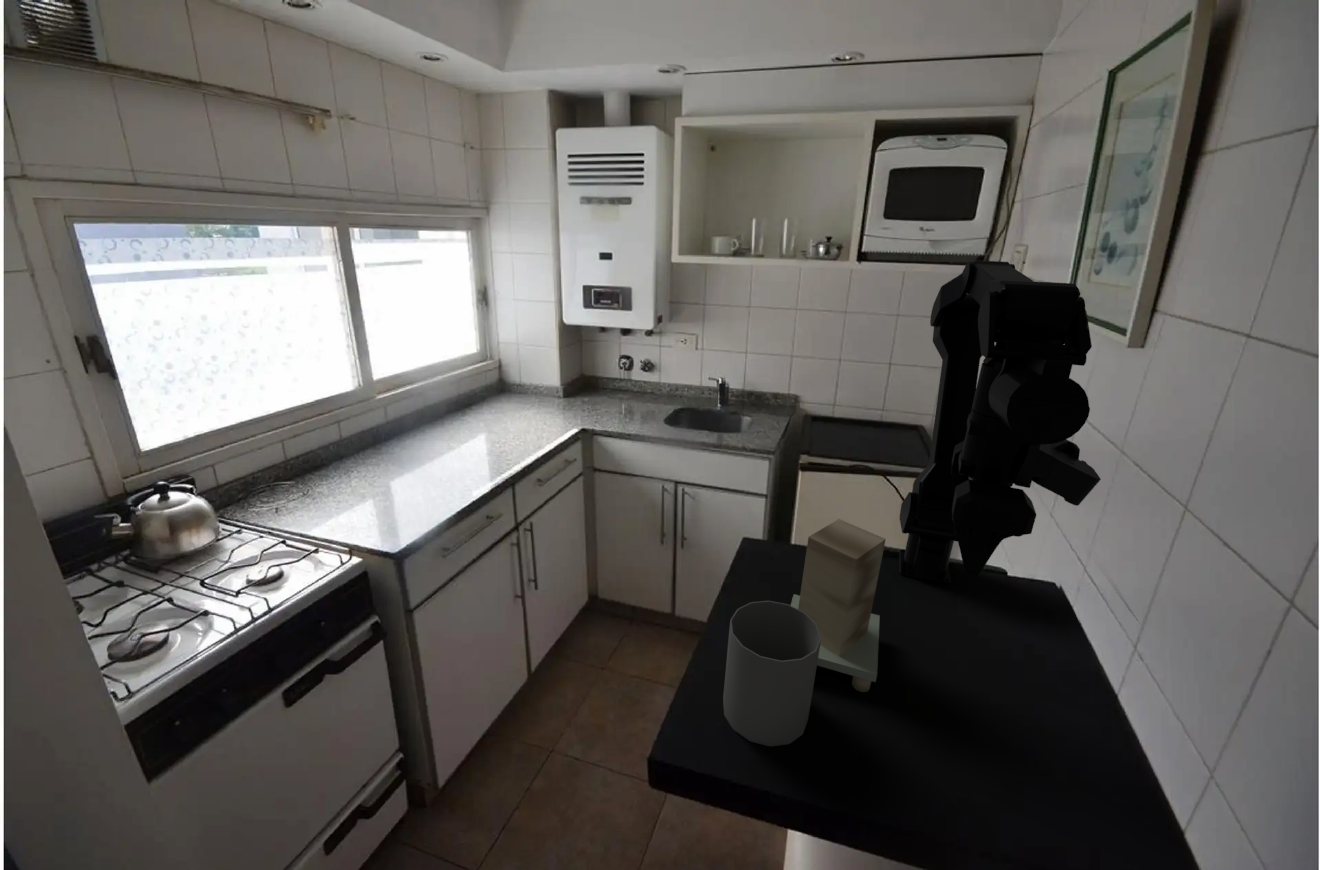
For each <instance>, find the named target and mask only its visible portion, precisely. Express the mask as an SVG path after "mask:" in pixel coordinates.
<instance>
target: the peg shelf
mask: <svg viewBox="0 0 1320 870" xmlns="http://www.w3.org/2000/svg"><path fill="white" fill-rule="evenodd" d="M799 600H800V594H799V595H798V594H794V593H793V596H792V599H791V603H790V606H792V607H794V608H796V609H798V607H799ZM879 638H880V614H875V613H871V616H870V621H869V626H868V631H867V632H866V633H865V634H864V635H863V636H862V637H861V638H859V639H858V640H857V641H856V642H855V643H854V644H853V645H851V646H850V647H849V648H848V649H847V650H846V651H845V652H844V653H842V654H841V655H840V656H837V655H836V654H834V653H832V652H831V651H829V650H827V649H826V648H824V647H823V646H821V645H820V649H819V656H818V662H817V667H821V668H825V669H827V670H828V669H829V670H832V671H836V672H838V673H842V674H846V675H849V676H852V681H851V685H852V687H853V689H855V690H856V691H858V692H861V693H867V692H869V691H870V690H871V689H870V688H871V685H872V683H873V682H874V683H876V682H877V677H878V664H879V663H878V661H879V644H880V643H879V641H880V639H879Z"/></svg>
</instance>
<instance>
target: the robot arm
mask: <svg viewBox="0 0 1320 870" xmlns="http://www.w3.org/2000/svg"><path fill="white" fill-rule="evenodd" d="M1085 301H1086V300H1085V299H1084V297H1082V296H1081V291H1080V289H1079V287H1078V286H1077V285H1076V283H1071V282H1070V283H1069V282H1053V281H1050V282H1049V281H1035V280H1032V278H1029V276H1027V275H1025V274H1023V273H1022V272H1020V271H1018V269H1016V265H1015V264H1014V263H1013V264H1012V263H1009V262H1008V261H1000V260H998V261H995V260H994V261H993V260H977V259H976V260H973V261H972V262H971V261H969V262H967V263H966V264H965V267H964V268H963V270H962V273H960V274H959V275H957V276H956V277H954V278H952V279H951V280H949V281H948V282H946V283H944V284H943V285H942V286H940V289H939V290H938V293H937V296H936V297H935V300H934V302H933V305H932V309H931V314H930V322H929V326H930V327H933V331H932V332H933V333H932V343H933V345H934V347H935V349H936V350H937V352H938V355H939V356H940V358H941V360H942V362H941V371H940V377H939V378H940V379H939V385H938V392H937V400H936V406H935V407H936V408H935V416H934V423H933V430H932V431H933V432H932V439H931V444H930V445H931V446H930V453H929V461H928V464H927V466H925V468H924V469H923V470H922V471H921V473H919V475H918V476H917V477H916V478H915V479H914V481H913V485H912V491H910V492H908V494H907V495H906V496H905V498H904V499H903V501H902V503H901V505H900V511H899V518H898V519H899V523H900V527H901V532H902V534H905V535H906V534H908V535H907V541H906V545H905V549H902V548H901V549H900V550H899V573H900V575H903V576H906V577H912V578H915V579H920V580H924V581H928V582H933V583H938V584H943V585H946V586H947V585H951V583H952V578H951V573H950V571H951V570H950V565H949V562H950V559H951V555H952V550H953V546H954V543H955V542H957V543H958V547H959V552H960V556H961V560H962V565H963V569H964V574H965V575H966V576H969V577H974V578H975V577H976V578H977V577H978V576H979V575H980V574H981V572H982V570H984V567H985V566H986V564H988V561H989V560H990V558H991V556H993V554H994V552H995V551H996V549H997V548H998V547H999V545H1000V543H1001V542H1002V541H1003V540H1005V539H1008V538H1011V537H1016V538H1017V537H1019V538H1020V537H1022V536H1025V535H1031V534H1032V531H1033V528H1034V525H1035V521H1036V518H1037V513H1036V510H1035V509H1036V508H1035V506H1034V503H1033V500H1032V499H1031V498H1030V497H1029V496H1028V495H1027V493H1026V492H1025V491H1024V489H1021V488H1018V487H1024V488H1026V489H1030V488H1031V486H1032V482H1033V483H1034V484H1036V485H1039V486H1040V487H1041V488H1044V489H1046V490H1048V491H1050V492H1052V493H1054V494H1056V495H1058V496H1060V497H1061V498H1063V499H1064V501H1065V502H1067V503H1068V504H1071V505H1072V506H1077V507H1078V506H1079V505H1080V504H1081V503H1082V502H1083V501H1084V500H1085V499H1086V497H1087V496H1088V495H1089V494H1090V493H1091V491H1092V490H1093V489H1094V488H1095V487H1096V486H1097V485H1098V483H1099V482H1100V481H1101V480H1102V479H1101V477H1100V476H1099V474H1098V473H1097V471H1096V470H1095V469H1094V467H1092V466H1090V464H1088V463H1087V462H1086V461H1085V460H1083V459H1081V460H1080V452H1081V449H1080V447H1079V446H1078V445H1077V444H1076V443H1075V442H1073V441H1070V440H1068V439H1070V438H1072V437H1073V436H1074V435H1075V434H1077V433H1078V432H1080V430H1081V429H1082V428H1083V426H1085V424H1086V422H1087V420H1088V418H1089V416H1090V415H1089V414H1090V411H1091V408H1090V403H1089V402H1090V401H1089V397H1088V394H1087V393H1086V390H1085V389H1084V388H1083V387H1082V386H1081V385H1080V383H1079V382H1077V381H1075V380H1073V379H1072V378H1070V376H1071V372H1072V369H1073V365H1074V366H1083V367H1084V366H1085V365H1086V364H1087V363H1086V362H1087V354H1088V353H1089V351H1090V350H1091V349H1092V347H1093V344H1092V338H1091V333H1090V325H1089V320H1088V319H1089V318H1088V312H1087V310H1086V302H1085ZM982 357H984V359H983V360H982V363H980V362H981V358H982ZM980 364H981V366H980ZM979 368H980V369H979ZM1013 485H1014V486H1017V488H1016V487H1013Z"/></svg>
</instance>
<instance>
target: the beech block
mask: <svg viewBox="0 0 1320 870" xmlns="http://www.w3.org/2000/svg"><path fill="white" fill-rule="evenodd" d="M885 544H886V538H885V537H882V536H881V535H878V534H876V533H875V534H874V532H871V531H868V530H866V529H863V528H861V527H859V526H856V525H855V524H852V523H849V522H847V521H845V520H843V519H840V518H838V519H837V520H835V521H833V522H831V523H829V524H828V525H826V526H824V527H823V528H820V529H819V530H818V531H816V532H814V533H812V534H811V535H809V536H808V538H807V544H806V545H807V546H806V550H805V551H806V552H805V559H804V566H803V572H802V581H801V587H800V593H799V596H800V600H799V607H798V610H800V611H802V612H804V613H806V614H807V615H808V616H809V617H810V618H811V619H812V620H813V621H814V622H815V623H816V624H817V626H818V630H819V633H820V636H821V643H820V645H821V646H823V647H824V648H826V649H827V650H829V651H831V652H832V653H834V654H836V655H837V656H840V655H841V654H842V653H844V652H845V651H846V650H847V649H848V648H849V647H850V646H851V645H853V644H854V643H855V642H856V641H857V640H858V639H859V638H861V637H862V636H863V635H864V634H865V633H866V632H867V631H868V626H869V621H870V616H871V614H872V610H873V605H874V600H875V596H876V595H875V594H876V591H877V585H878V581H879V580H878V579H879V575H880V570H881V565H882V561H883V560H882V559H883V554H884V550H885Z"/></svg>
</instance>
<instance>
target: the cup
mask: <svg viewBox="0 0 1320 870" xmlns="http://www.w3.org/2000/svg"><path fill="white" fill-rule="evenodd" d="M729 620H730V621H729V631H728V641H727V653H726V664H725V675H724V684H723V685H724V687H723V697H722V701H723V702H722V703H723V704H722V705H723V715H724V717H725V719H726V720H727V722H728V724H729V726H730V727H731V728H732V729H733V731H735V732H736V733H737V734H739V735H740V736H741V737H743V738H744V739H746V740H747V741H749V742H752V743H755V744H758V745H763V746H767V747H778V746H787V745H790V744H792V743H793V742H795V741H796V740H797V739H798V738H800V737H802V736H803V735H804V732H805V729H806V727H807V724H808V721H809V716H810V709H811V705H812V698H813V691H814V685H815V680H816V674H817V672H816V671H817V667H818V666H817V662H818V656H819V649H820V643H821V636H820V633H819V630H818V626H817V624H816V623H815V622H814V621H813V620H812V619H811V618H810V617H809V616H808V615H807V614H806V613H804V612H802V611H800V610H798V609H796V608H794V607H792V606H791V604H787V603H783V602H777V601H772V600H762V601H750V602H749V603H747V604H745V605H743V606H741V607H739V608H737V609H736V611H735V612H734V614H733V615H732V617H731V618H730V619H729Z"/></svg>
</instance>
